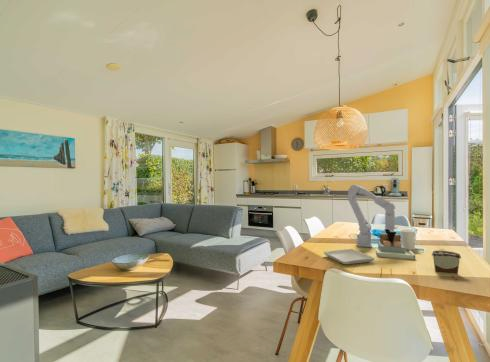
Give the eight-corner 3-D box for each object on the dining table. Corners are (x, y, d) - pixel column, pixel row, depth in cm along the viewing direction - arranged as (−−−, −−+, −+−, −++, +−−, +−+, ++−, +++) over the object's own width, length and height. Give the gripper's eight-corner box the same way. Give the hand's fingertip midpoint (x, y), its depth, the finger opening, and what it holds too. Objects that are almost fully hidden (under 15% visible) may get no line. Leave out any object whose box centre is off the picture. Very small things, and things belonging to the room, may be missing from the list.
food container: (456, 270, 139) (456, 251, 139) (461, 274, 134) (461, 254, 134) (428, 268, 143) (428, 249, 143) (432, 272, 138) (432, 252, 138)
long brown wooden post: (380, 242, 184) (380, 234, 184) (379, 241, 187) (379, 233, 187) (400, 244, 180) (400, 235, 180) (399, 243, 183) (399, 234, 183)
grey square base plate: (380, 252, 176) (380, 245, 176) (378, 247, 188) (378, 241, 188) (405, 254, 171) (405, 247, 171) (401, 249, 183) (401, 243, 183)
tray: (377, 256, 165) (377, 252, 165) (375, 251, 176) (375, 248, 176) (415, 259, 158) (415, 255, 158) (410, 254, 169) (410, 250, 169)
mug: (411, 245, 191) (411, 229, 191) (422, 248, 183) (422, 231, 183) (397, 247, 188) (397, 229, 188) (408, 250, 180) (407, 232, 180)
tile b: (394, 246, 174) (394, 242, 174) (393, 244, 178) (393, 241, 178) (401, 246, 173) (401, 242, 173) (399, 245, 177) (399, 241, 177)
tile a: (383, 245, 176) (383, 241, 176) (382, 244, 180) (382, 240, 180) (390, 246, 175) (390, 242, 175) (389, 244, 179) (389, 240, 179)
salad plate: (343, 267, 147) (343, 261, 147) (322, 256, 168) (322, 251, 168) (376, 263, 153) (376, 257, 153) (351, 254, 173) (351, 248, 173)
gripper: (398, 222, 175) (398, 243, 175) (394, 219, 189) (394, 238, 189) (386, 222, 178) (386, 242, 178) (383, 219, 191) (383, 238, 191)
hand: (390, 240), depth 184 cm, fingers open, 7 cm apart
